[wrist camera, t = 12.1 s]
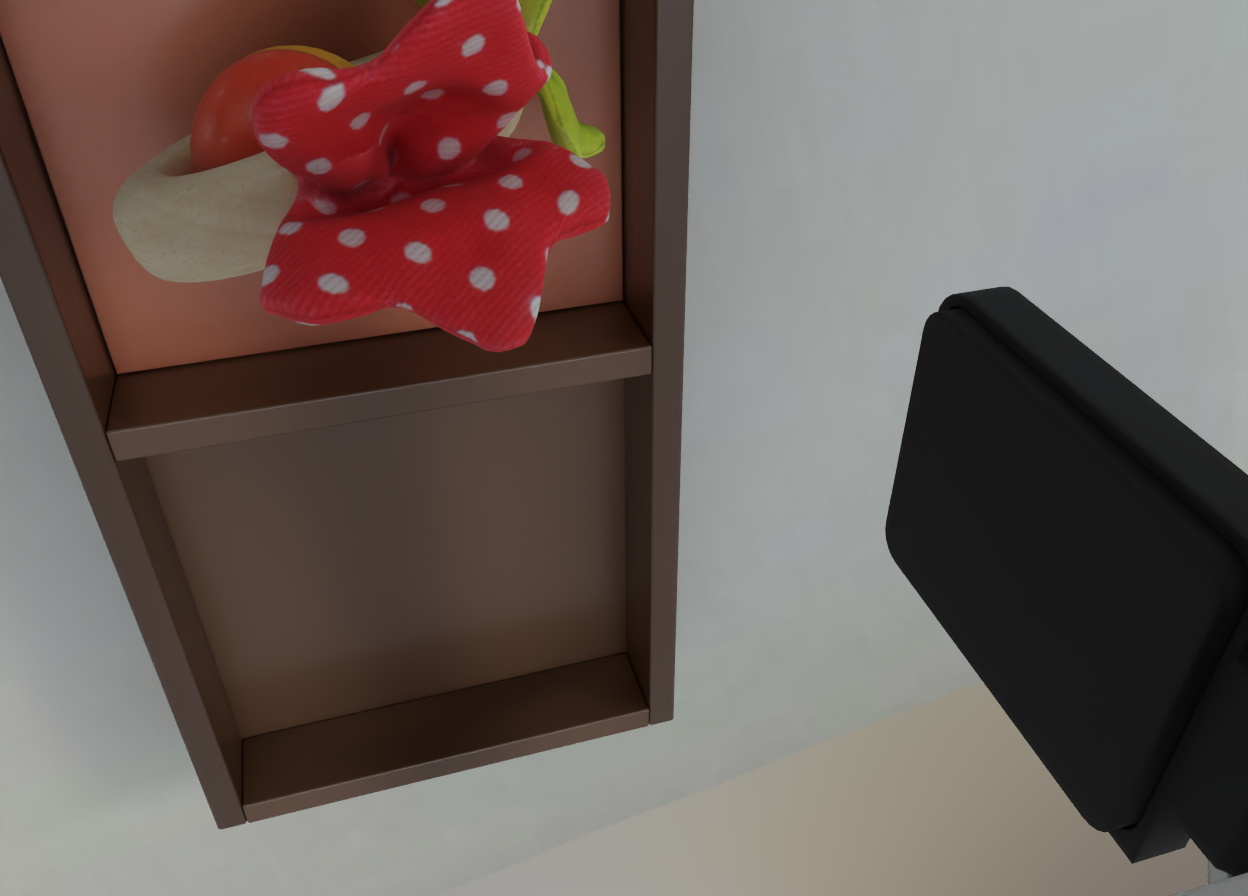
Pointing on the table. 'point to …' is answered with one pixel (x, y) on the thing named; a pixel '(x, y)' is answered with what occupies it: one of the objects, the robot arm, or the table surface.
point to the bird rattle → (380, 177)
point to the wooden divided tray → (360, 421)
